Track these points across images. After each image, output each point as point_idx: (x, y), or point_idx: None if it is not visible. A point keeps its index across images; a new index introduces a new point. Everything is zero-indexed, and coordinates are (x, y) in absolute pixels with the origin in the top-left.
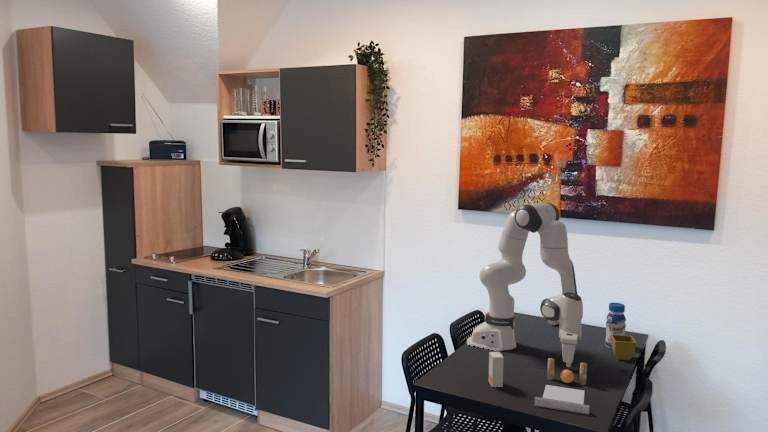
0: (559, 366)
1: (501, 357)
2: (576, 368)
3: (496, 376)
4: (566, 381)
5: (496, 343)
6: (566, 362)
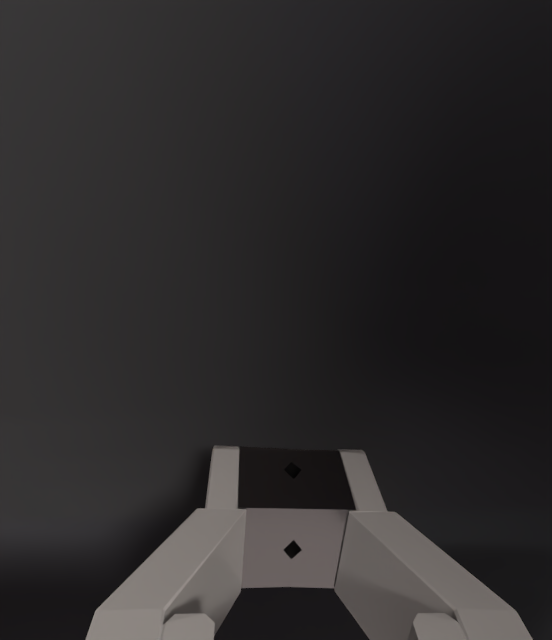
0: (404, 281)
1: None
2: None
3: None
4: None
5: None
6: (193, 515)
